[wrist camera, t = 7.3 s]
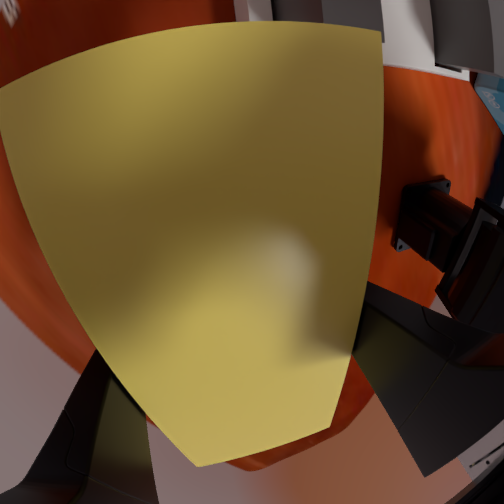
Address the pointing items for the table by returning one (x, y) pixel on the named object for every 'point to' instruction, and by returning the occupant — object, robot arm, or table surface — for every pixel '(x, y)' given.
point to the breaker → (469, 35)
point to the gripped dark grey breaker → (331, 12)
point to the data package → (492, 96)
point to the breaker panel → (385, 33)
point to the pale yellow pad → (211, 217)
